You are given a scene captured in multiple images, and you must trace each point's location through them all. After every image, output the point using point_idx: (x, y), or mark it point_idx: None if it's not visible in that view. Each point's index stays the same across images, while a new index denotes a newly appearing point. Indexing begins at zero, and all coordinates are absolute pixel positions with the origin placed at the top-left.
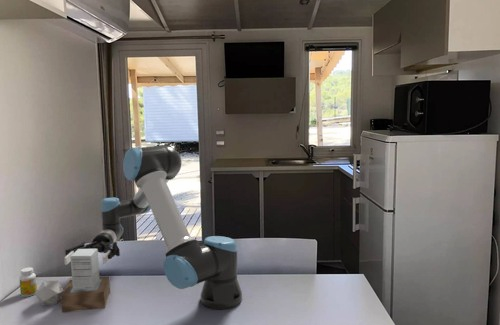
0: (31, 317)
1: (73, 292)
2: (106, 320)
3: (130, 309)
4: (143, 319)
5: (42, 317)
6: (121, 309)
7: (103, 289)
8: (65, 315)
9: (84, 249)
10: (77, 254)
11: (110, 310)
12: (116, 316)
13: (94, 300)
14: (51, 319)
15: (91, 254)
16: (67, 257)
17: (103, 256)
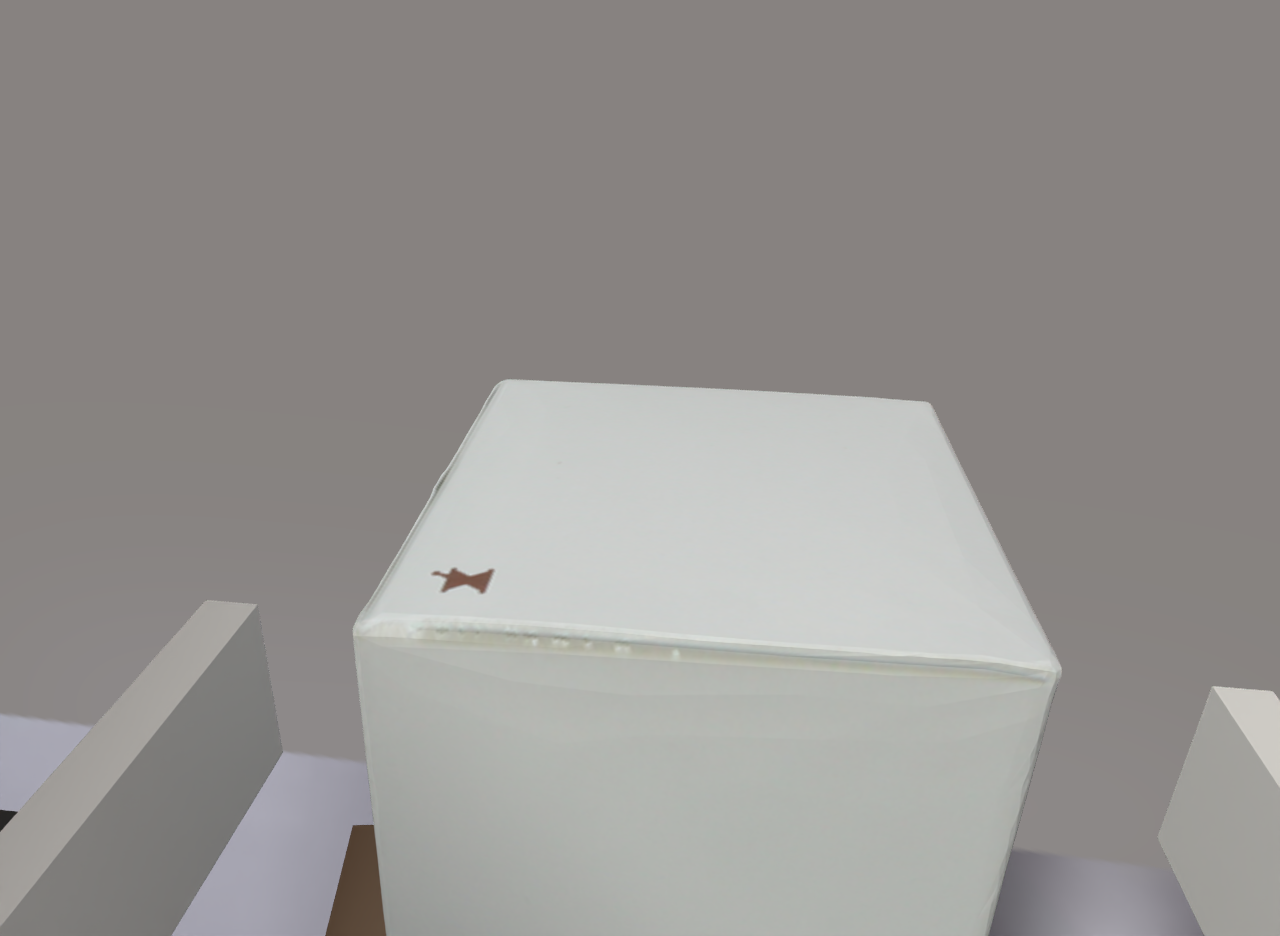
0: (1175, 918)
1: None
2: (365, 763)
3: None
4: (32, 731)
5: (1046, 900)
6: (180, 927)
7: (357, 892)
8: None
9: (786, 595)
10: (815, 420)
11: (311, 925)
12: (263, 807)
13: None
14: None
15: (496, 409)
16: (1236, 751)
17: (229, 621)
